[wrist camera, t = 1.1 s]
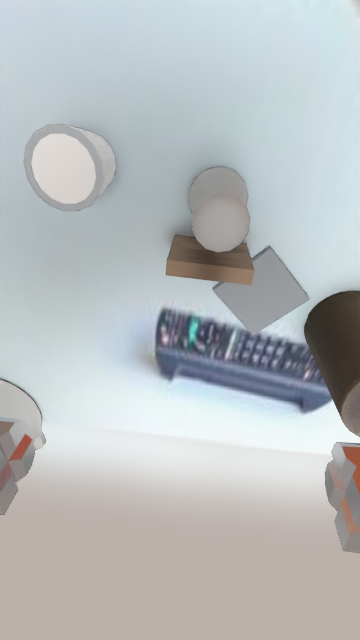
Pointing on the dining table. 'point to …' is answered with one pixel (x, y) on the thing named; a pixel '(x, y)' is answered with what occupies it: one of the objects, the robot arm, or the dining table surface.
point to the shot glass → (68, 166)
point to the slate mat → (263, 293)
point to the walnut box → (209, 262)
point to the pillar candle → (338, 351)
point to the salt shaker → (219, 209)
